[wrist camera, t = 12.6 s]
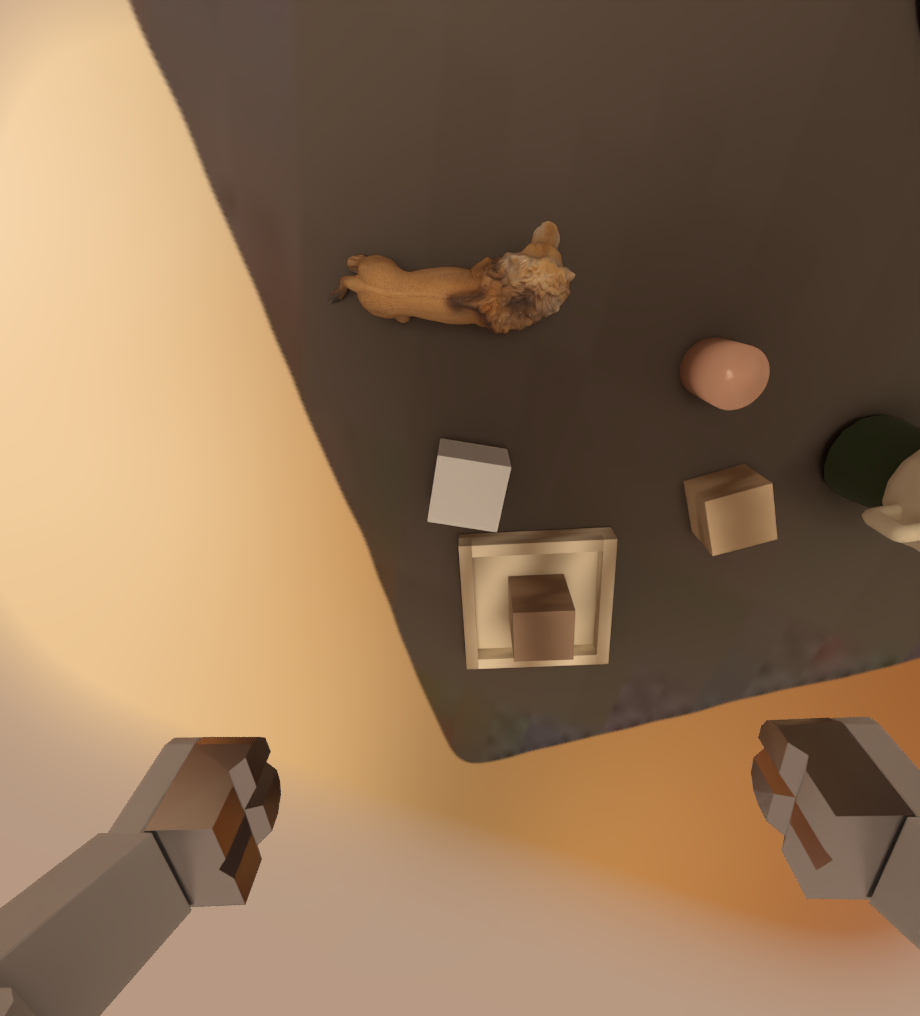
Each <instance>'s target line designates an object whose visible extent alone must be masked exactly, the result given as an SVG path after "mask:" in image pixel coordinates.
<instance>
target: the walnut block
mask: <svg viewBox="0 0 920 1016" xmlns="http://www.w3.org/2000/svg"><path fill="white" fill-rule="evenodd" d="M508 592H509V624H510V633H511V641H512V649H513V657H514V662H520V661H547V660H573V658H574V635H575V612H576V610H575V607H574V604H573V601H572V598H571V595H570V592H569V588H568V585H567V582H566V579H565V576H564V574H546V575H523V576H508Z"/></svg>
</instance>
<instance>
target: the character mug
mask: <svg viewBox="0 0 920 1016" xmlns="http://www.w3.org/2000/svg"><path fill="white" fill-rule="evenodd" d="M824 478H825V483H826V484H827V485H828V486H829V487H830V488H831V489H832V490H833V491H834V492H835V493H837V494H839V495H841V496H843V497H846V498H848V499H850V500H852V501H854V502H857V503H859V504H862V505H865V506H867V507H870V509H867V510H865V511H864V512H863V513H862V514H861V516H862V518H863V519H864V521H865V523H866V524H867V525H869V526H870V527H872V528H873V529H875V530H876V531H878V532H880V533H881V534H883V535H884V536H886V537H887V538H889V539H891V540H893V541H896V542H901V543H903V544H905V545H908V546H911V547H913V548H914V549H916V550H918V551H919V552H920V429H919V428H917V427H915V426H913V425H911V424H909V423H907V422H905V421H903V420H901V419H897V418H893V417H890V416H886V415H878V416H873V417H868V418H862V419H860V420H859V421H857V422H856V423H854V424H853V425H851V426H850V427H848V428H847V429H845V430H844V431H843V432H842V433H841V434H840V436H839V437H838V438H837V440H836V441H835V442H834V444H833V445H832V446H831V448H830V450H829V453H828V456H827V459H826V462H825V465H824Z"/></svg>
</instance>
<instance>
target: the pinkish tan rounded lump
mask: <svg viewBox="0 0 920 1016" xmlns="http://www.w3.org/2000/svg"><path fill="white" fill-rule="evenodd" d="M679 373H680V380H681V382H682V384H683V386H684V387H685V389H686V390H687V391H689V392H690V393H692V394H694V395H695V396H697V397H699V398H701V399H703V400H704V401H706V402H708V403H710V404H712V405H713V406H715V407H717V408H720V409H723V410H736V409H740V408H743V407H745V406H747V405H749V404H750V403H752V402H753V401H754V400H756V399H757V398H758V397H759V396H760V394H761V393H762V392H763V390H764V389H765V387H766V385H767V382H768V379H769V373H770V368H769V363H768V360H767V358H766V356H765V355H764V353H763V352H762V351H761V350H759V349H758V348H756V347H754V346H750V345H747V344H743V343H739V342H735V341H732V340H728V339H724V338H720V337H709V338H705V339H703V340H701V341H699V342H697V343H695V344H694V345H693V346H692V347H691V348H690V349H689V350H688V351H687V352H686V354H685V355H684V357H683V359H682V361H681V365H680V372H679Z"/></svg>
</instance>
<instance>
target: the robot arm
mask: <svg viewBox="0 0 920 1016" xmlns="http://www.w3.org/2000/svg"><path fill="white" fill-rule="evenodd" d="M758 738H759V739H760V741H761V743H762V745H763V746H764V749H763V750H762V751H760V752H759V753H758V754H757V755H756V756H754V758H753V764H752V769H751V776H752V784H753V790H754V793H755V796H756V799H757V802H758V805H759V807H760V809H761V811H762V813H763V815H764V817H765V819H766V821H767V822H768V823H769V824H771V825H772V826H773V827H774V828H776V829H777V830H778V831H779V832H781V833H782V834H783V835H784V841H783V847H782V852H783V854H784V856H785V858H786V860H787V862H788V864H789V865H790V867H791V869H792V871H793V873H794V875H795V877H796V879H797V881H798V882H799V885H800V886H801V888H802V890H803V892H804V894H805V896H806V898H807V899H808V898H809V899H810V898H811V899H813V898H814V899H861V900H863V899H864V900H870V902H869V903H870V904H871V905H872V906H873V907H874V908H875V909H876V910H877V911H878V912H879V913H881V914H882V915H883V916H884V917H885V918H886V919H887V920H888V921H889V922H890V923H891V924H893V925H894V926H895V927H896V928H897V929H898V930H899V931H900V932H901V933H902V934H903V935H905V936H906V937H907V938H908V939H909V940H910V941H911V942H912V943H913V944H914V945H915V946H917V947H918V948H919V949H920V770H919V769H918V768H917V767H916V766H915V764H914V763H913V762H912V761H911V760H910V759H909V758H908V757H907V755H906V754H905V753H904V752H903V751H902V750H901V749H900V747H899V746H898V745H897V744H896V743H895V742H894V741H893V739H892V738H891V737H890V736H889V735H888V734H887V733H886V731H885V730H884V729H883V728H882V727H881V726H880V725H879V724H878V723H877V722H876V721H874V720H873V719H871V718H869V717H852V718H851V717H849V718H832V719H831V718H811V719H788V720H767V721H766V722H765V723H764V724H763V725H762V726H761V729H760V733H759V737H758ZM269 754H270V749H269V746H268V743H267V742H266V738H262V737H202V738H201V737H199V738H197V737H196V738H174V739H172V740H171V741H170V742H168V743H167V744H166V745H165V746H164V747H163V749H162V750H161V752H160V753H159V755H158V756H157V758H156V759H155V761H154V763H153V764H152V766H151V767H150V769H149V770H148V772H147V773H146V775H145V776H144V778H143V780H142V781H141V783H140V784H139V786H138V787H137V789H136V790H135V792H134V793H133V795H132V796H131V798H130V800H129V801H128V803H127V804H126V806H125V807H124V809H123V810H122V812H121V813H120V815H119V816H118V818H117V819H116V821H115V823H114V824H113V826H112V827H111V829H110V830H109V832H108V833H99V834H97V835H96V836H95V837H93V838H92V839H91V840H89V841H88V842H87V843H85V844H84V845H83V846H81V847H80V848H79V849H77V850H76V851H75V852H73V853H72V854H71V855H70V856H68V857H67V858H66V859H64V860H63V861H62V862H60V863H59V864H58V865H57V866H55V867H54V868H53V869H51V870H50V871H49V872H47V873H46V874H45V875H43V876H42V877H41V878H39V879H38V880H37V881H36V882H34V883H33V884H32V885H30V886H29V887H28V888H26V889H25V890H24V891H23V892H21V893H20V894H18V895H17V896H16V897H15V898H13V899H12V900H11V901H9V902H8V903H7V904H5V905H4V906H3V907H1V908H0V1016H100V1015H101V1014H102V1013H103V1011H104V1010H105V1009H106V1008H107V1007H108V1006H109V1005H110V1003H111V1002H112V1001H113V1000H114V999H115V998H116V997H117V995H118V994H119V993H120V992H121V991H122V990H123V989H124V987H125V986H126V985H127V984H128V983H129V982H130V981H131V979H132V978H133V977H134V976H135V975H136V974H137V973H138V971H139V970H140V969H141V968H142V967H143V966H144V965H145V963H146V962H147V961H148V960H149V959H150V958H151V957H152V955H153V954H154V953H155V952H156V951H157V950H158V948H159V947H160V946H161V945H162V944H163V943H164V942H165V940H166V939H167V938H168V937H169V936H170V934H172V932H173V931H174V930H175V929H176V928H177V927H178V926H179V924H180V923H181V922H182V921H183V920H184V919H185V917H186V916H187V915H188V914H189V913H190V912H191V908H190V907H204V906H226V905H245V904H246V901H247V899H248V896H249V893H250V890H251V888H252V885H253V882H254V879H255V877H256V874H257V871H258V868H259V866H260V863H261V860H262V858H261V855H260V851H259V848H258V844H259V843H260V842H261V841H262V840H263V839H264V838H265V837H266V836H267V835H268V834H269V833H270V832H271V831H272V829H273V826H274V824H275V821H276V818H277V815H278V810H279V802H280V796H281V789H280V779H279V776H278V773H277V770H276V769H275V768H274V767H272V766H271V765H270V764H268V763H267V759H268V757H269Z"/></svg>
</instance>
